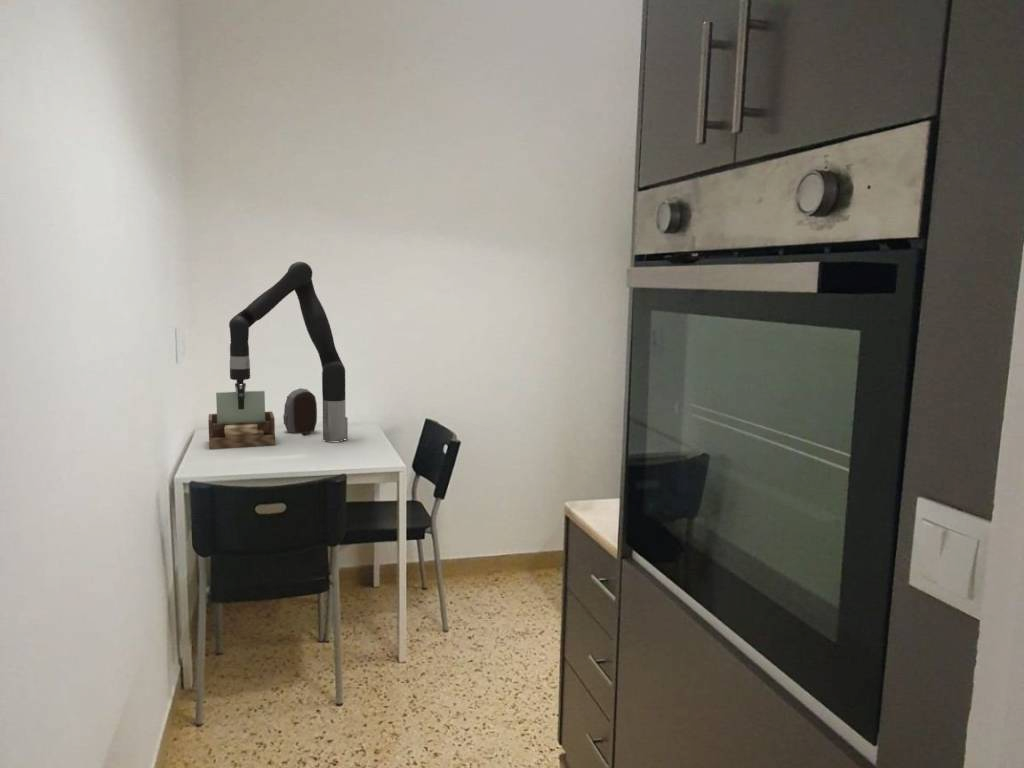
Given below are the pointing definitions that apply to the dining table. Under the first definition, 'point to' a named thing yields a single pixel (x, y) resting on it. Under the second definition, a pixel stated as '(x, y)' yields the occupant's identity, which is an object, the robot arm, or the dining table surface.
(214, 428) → the rack
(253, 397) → the sheet
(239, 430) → the offcut top
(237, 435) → the offcut middle
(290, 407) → the grey rounded bag
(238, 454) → the dining table surface
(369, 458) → the dining table surface
